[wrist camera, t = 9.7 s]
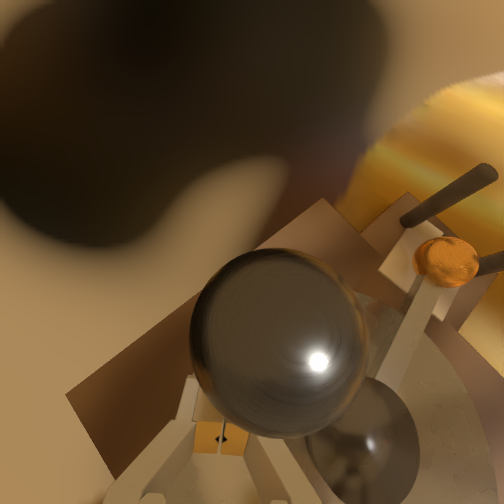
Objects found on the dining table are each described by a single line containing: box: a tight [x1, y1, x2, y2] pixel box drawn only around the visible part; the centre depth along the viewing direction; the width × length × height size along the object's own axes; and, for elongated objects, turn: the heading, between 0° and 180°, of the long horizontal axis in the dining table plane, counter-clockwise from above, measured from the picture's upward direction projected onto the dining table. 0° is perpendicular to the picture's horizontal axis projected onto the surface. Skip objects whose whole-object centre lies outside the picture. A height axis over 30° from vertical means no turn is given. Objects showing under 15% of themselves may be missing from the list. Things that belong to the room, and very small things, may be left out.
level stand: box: [65, 163, 504, 504], centre depth 12 cm, size 20×26×8 cm
